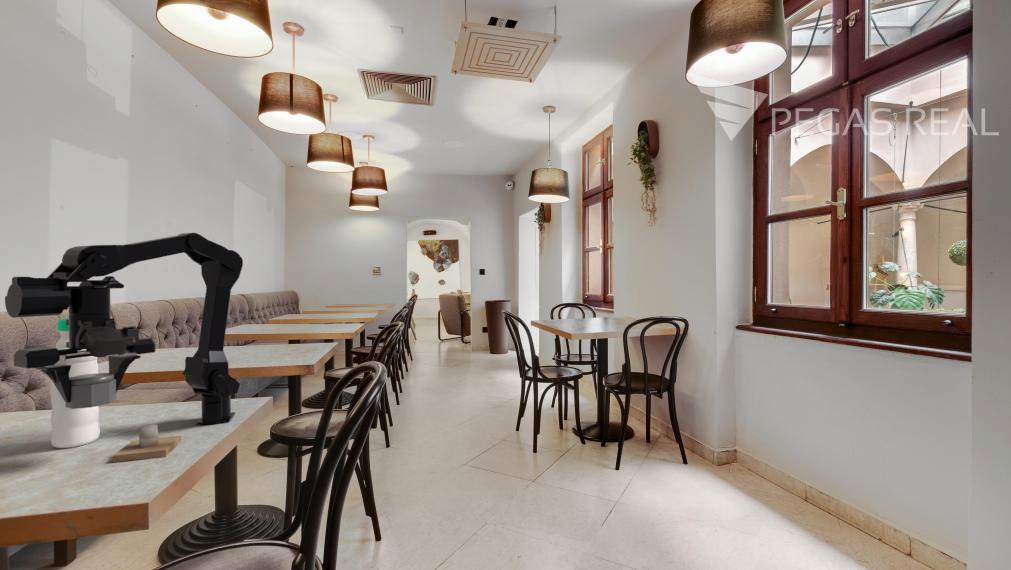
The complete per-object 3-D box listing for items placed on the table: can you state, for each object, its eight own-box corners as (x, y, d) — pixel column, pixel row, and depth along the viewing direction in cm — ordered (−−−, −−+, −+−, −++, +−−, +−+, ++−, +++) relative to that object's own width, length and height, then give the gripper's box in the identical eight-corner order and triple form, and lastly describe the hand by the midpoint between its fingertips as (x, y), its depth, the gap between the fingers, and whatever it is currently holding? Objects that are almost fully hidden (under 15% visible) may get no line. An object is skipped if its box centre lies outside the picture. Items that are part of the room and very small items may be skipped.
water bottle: (70, 450, 87) (67, 320, 87) (41, 447, 88) (39, 319, 88) (108, 437, 94) (107, 317, 94) (81, 435, 95) (79, 316, 95)
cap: (79, 400, 86) (79, 374, 86) (120, 397, 88) (120, 371, 88) (59, 409, 80) (58, 381, 80) (104, 406, 82) (103, 378, 82)
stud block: (132, 446, 89) (132, 423, 89) (180, 441, 91) (180, 418, 91) (112, 462, 81) (112, 436, 81) (166, 456, 84) (165, 431, 84)
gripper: (41, 319, 72) (43, 417, 72) (170, 311, 89) (172, 391, 89) (11, 316, 77) (13, 409, 77) (139, 310, 94) (140, 385, 94)
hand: (91, 397), depth 84 cm, fingers closed on cap, 6 cm apart
